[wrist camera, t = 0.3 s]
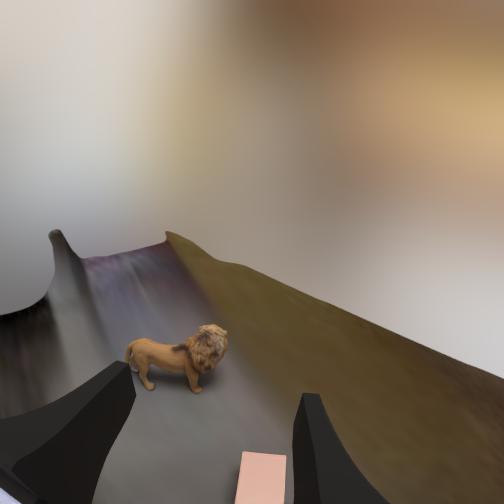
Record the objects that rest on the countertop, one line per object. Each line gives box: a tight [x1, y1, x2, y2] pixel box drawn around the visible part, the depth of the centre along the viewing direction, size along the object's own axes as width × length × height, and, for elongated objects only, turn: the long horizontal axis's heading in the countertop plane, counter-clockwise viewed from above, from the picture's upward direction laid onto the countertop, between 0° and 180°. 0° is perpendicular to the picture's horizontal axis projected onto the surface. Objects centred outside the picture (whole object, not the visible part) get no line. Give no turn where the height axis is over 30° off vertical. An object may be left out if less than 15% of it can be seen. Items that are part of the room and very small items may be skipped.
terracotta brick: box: [235, 451, 286, 504], centre depth 20 cm, size 8×4×5 cm, turn 174°
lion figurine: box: [125, 324, 227, 393], centre depth 34 cm, size 15×5×9 cm, turn 102°
